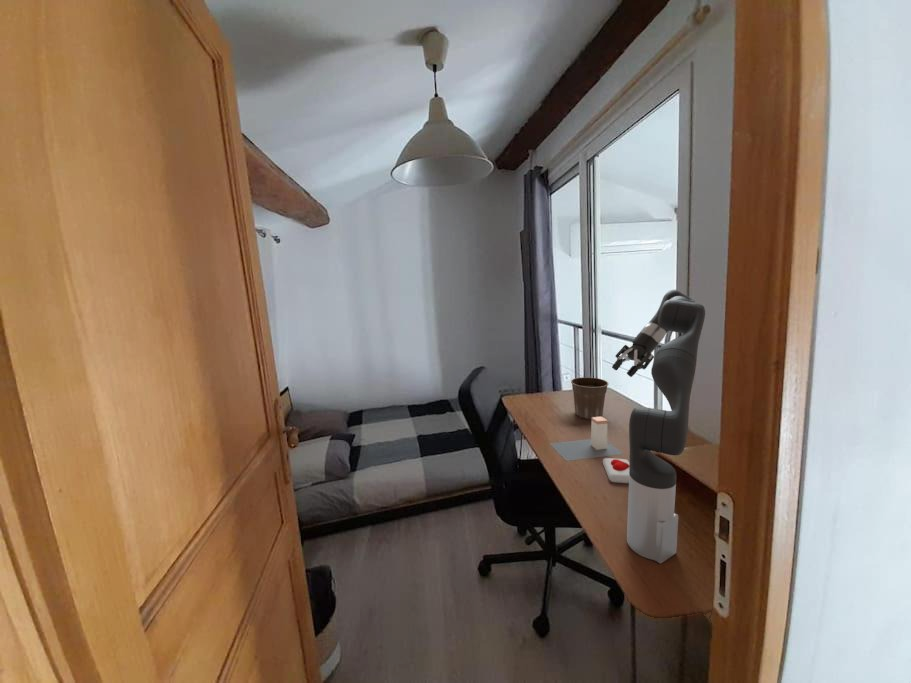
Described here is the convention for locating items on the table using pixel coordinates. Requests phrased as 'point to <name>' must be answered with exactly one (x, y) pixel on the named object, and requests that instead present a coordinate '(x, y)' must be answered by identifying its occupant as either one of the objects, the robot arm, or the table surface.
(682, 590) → the table surface
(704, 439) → the table surface
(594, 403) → the plant pot
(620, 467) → the icon
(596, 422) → the cream block
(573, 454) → the grey rectangular mat
